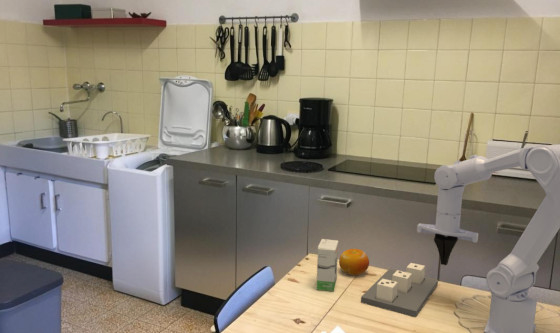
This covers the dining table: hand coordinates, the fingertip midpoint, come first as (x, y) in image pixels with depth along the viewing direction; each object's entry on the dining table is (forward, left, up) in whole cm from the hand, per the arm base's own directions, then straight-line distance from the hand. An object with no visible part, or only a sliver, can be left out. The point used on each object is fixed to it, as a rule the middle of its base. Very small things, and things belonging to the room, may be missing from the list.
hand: (444, 263), depth 121 cm
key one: (+9, -6, -10) cm, 14 cm away
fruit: (+26, -4, -10) cm, 28 cm away
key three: (+11, +9, -10) cm, 18 cm away
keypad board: (+10, +2, -10) cm, 14 cm away
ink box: (+29, +8, -10) cm, 32 cm away
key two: (+10, +2, -10) cm, 14 cm away
